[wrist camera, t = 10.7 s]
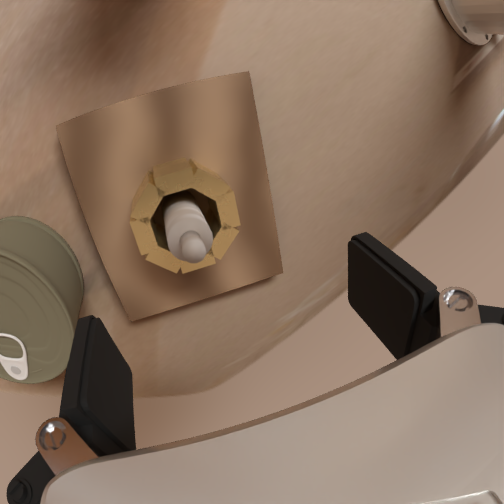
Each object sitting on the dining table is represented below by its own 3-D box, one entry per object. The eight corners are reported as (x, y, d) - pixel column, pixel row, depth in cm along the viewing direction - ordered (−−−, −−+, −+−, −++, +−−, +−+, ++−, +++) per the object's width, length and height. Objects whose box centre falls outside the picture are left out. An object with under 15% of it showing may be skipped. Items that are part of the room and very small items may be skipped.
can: (83, 214, 22) (63, 252, 16) (92, 336, 27) (86, 389, 21) (-37, 212, 18) (-77, 246, 12) (-12, 327, 22) (-34, 374, 17)
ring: (214, 149, 22) (226, 158, 18) (231, 231, 25) (246, 254, 21) (124, 175, 20) (118, 189, 17) (150, 256, 24) (152, 283, 20)
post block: (243, 73, 21) (298, 56, 13) (277, 264, 29) (326, 327, 21) (61, 124, 18) (9, 137, 10) (131, 311, 27) (132, 392, 19)
